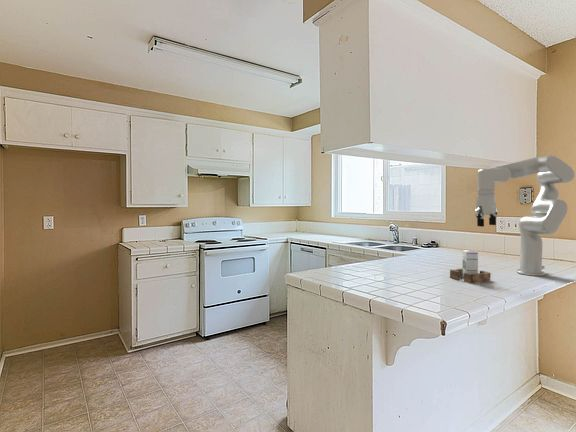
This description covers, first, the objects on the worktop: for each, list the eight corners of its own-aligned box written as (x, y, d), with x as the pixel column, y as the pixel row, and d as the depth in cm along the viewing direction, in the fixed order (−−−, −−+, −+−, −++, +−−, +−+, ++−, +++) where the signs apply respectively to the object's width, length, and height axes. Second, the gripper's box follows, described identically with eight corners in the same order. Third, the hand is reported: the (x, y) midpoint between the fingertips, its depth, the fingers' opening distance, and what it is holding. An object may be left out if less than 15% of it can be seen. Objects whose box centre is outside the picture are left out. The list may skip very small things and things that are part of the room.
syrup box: (478, 280, 164) (479, 251, 163) (465, 280, 165) (466, 251, 164) (474, 278, 169) (474, 250, 169) (461, 277, 170) (462, 249, 170)
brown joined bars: (466, 275, 176) (466, 267, 176) (491, 280, 164) (491, 272, 164) (448, 277, 170) (449, 270, 170) (473, 283, 158) (473, 275, 158)
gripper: (489, 192, 177) (490, 224, 178) (468, 193, 170) (469, 226, 171) (503, 192, 170) (504, 224, 171) (482, 193, 163) (483, 227, 164)
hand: (486, 225), depth 171 cm, fingers open, 9 cm apart
